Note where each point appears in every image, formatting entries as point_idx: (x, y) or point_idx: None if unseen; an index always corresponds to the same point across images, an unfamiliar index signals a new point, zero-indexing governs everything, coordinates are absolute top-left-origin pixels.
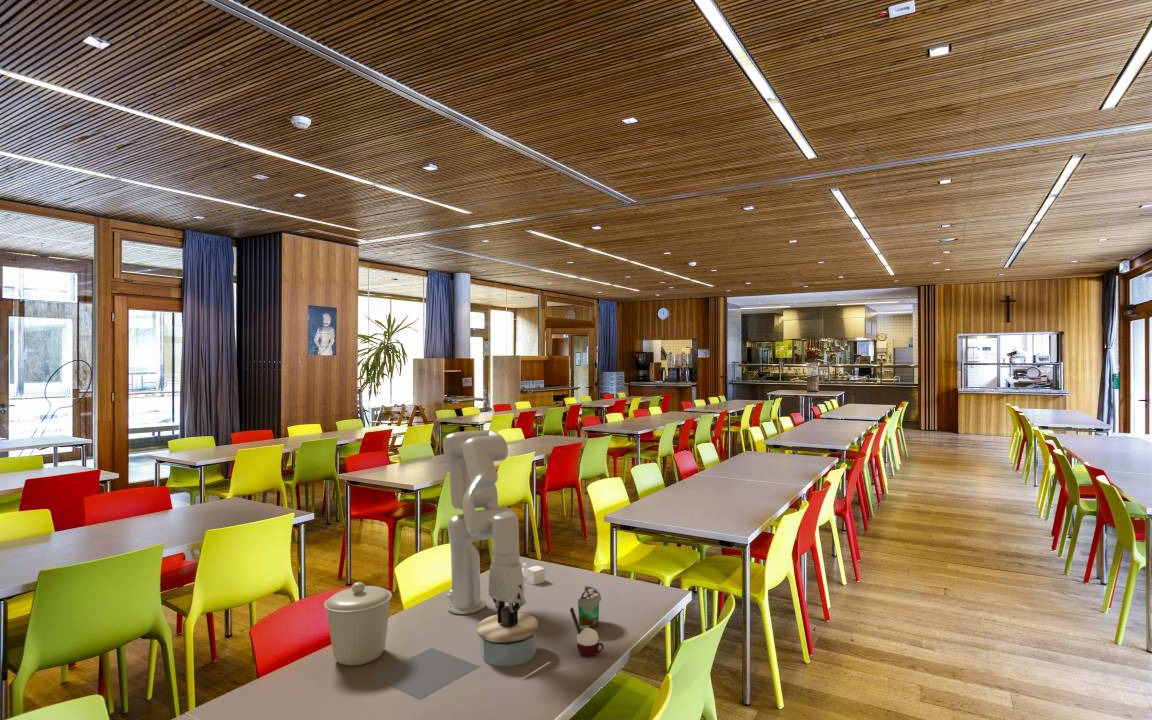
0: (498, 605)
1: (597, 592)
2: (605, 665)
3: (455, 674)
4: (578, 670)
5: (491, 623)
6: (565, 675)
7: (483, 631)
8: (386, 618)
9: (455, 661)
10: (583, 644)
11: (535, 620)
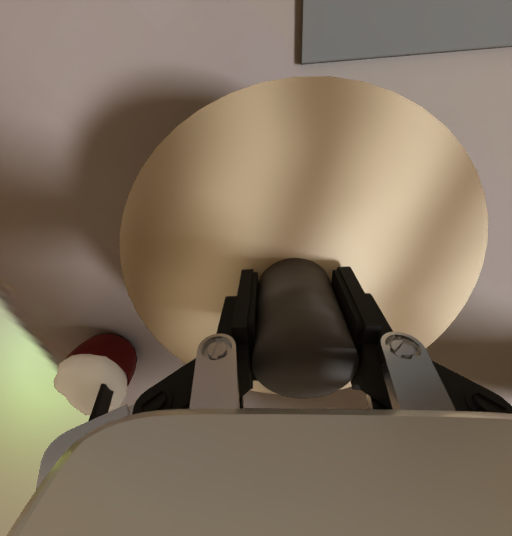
0: (387, 359)
1: None
2: (35, 327)
3: None
4: (46, 276)
5: (395, 250)
6: (36, 235)
7: (367, 122)
8: None
9: (457, 3)
10: (75, 356)
11: None
